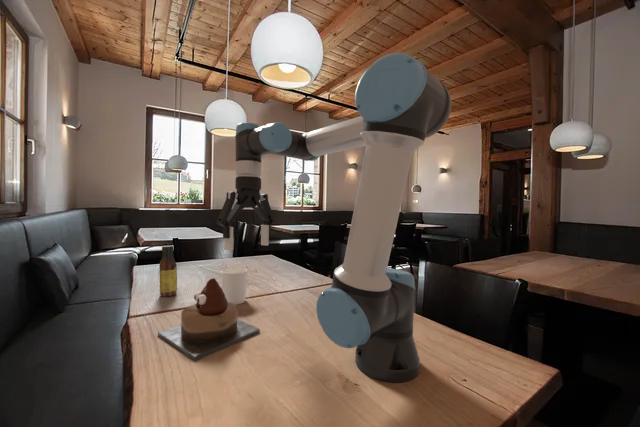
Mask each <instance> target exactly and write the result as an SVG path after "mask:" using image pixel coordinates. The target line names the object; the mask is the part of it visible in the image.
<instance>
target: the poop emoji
mask: <svg viewBox="0 0 640 427" xmlns="http://www.w3.org/2000/svg"><path fill="white" fill-rule="evenodd" d="M193 298H194V301H195V302H196V303H195V304H196V308H197V309H198V310H199V311H200V312H201V313H202V314H205V315H215V314H220V313H222V312H224V311H225V310H226V309H227V307H228V302H227V299H226V298H225V294H224V292H223V290H222V286H220V284H219V282H218V281H217V280H216V278H213V277H212V278H210V279H209V280H208V281H207V282H206V284H205V286H204V287H203V289H201V291H197V292H196V293H195V294H194V296H193Z"/></svg>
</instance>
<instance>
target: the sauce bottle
mask: <svg viewBox="0 0 640 427" xmlns="http://www.w3.org/2000/svg"><path fill="white" fill-rule="evenodd" d="M161 251H162V255H161V256H162V258H161V260H160V261H159V272H158V274H159V276H158V277H159V295H160V296H161V297H163V298H164V297H165V298H166V297H167V298H168V297H172V296H175V295H176V294H177V292H178V280H177V279H178V272H177V268H178V267H177V266H178V265H177V262H176V261H175V258H174V245H163V246H161Z"/></svg>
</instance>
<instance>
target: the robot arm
mask: <svg viewBox="0 0 640 427" xmlns="http://www.w3.org/2000/svg"><path fill="white" fill-rule="evenodd" d="M354 105H355V108H356V110H357V111H358V114H359V115H360V116H357V117H353V118H351V119H350V118H349V119H347V120H344V121H340V122H337V123H334V124H331V125H327V126H324V127H321V128H317V129H314V130H311V131H308V132H307V131H306V132H304V133H303V132H302V133H301V132H296V131H294V130H291V129H290V128H289V127H288V126H287V125H286V124H285V123H283V122H280V121H279V122H271V123H267V124H265V125H262V126H261V125H259V124H257V123H254V122H240V123H238V124H237V125H236V126H235V127H236V128H235V137H234V139H235V175H236V177H235V180H234V181H235V184H234V185H235V188H234V189H236V192H235V191H227V192H226V198H225V201H224V204H223V206H222V208H221V210H220V212H219V215H218V217H217V220H216V224H217V225H218V226H220V227H222V238H223V239H224V250H225V251H234V226H232V225H233V223H234V222H235V220H236V219H237V217H238V216H239V215H240V213H241V211H243V209H247V208H248V209H253V210H254V212H255V213H256V214H257V217H258V218H259V220H260V221H261V223H262V224H260V245H261V246H269V242H270V240H269V238H270V236H269V235H270V233H271V226H272V225H273V223H275V222H276V219H275V216H274V214H273V210H272V208H271V205H270V202H269V195H268V194H267V193H260V192H261V190H262V178H261V176H262V155H269V154H270V155H271V154H272V155H277V156H282V157H287V158H288V157H289V158H294V159H298V160H302V161H305V162H306V161H307V162H309V161H312V162H314V161H316V160H318V159H319V158H320V157H322V156H325V155H330V154H334V153H338V152H343V151H344V152H345V151H349V150H353V149H358V148H363V147H365V151H364V156H363V161H362V166H361V171H360V176H359V183H358V187H357V190H356V191H357V192H356V198H355V202H354V207H353V208H354V209H353V213H352V217H351V223H350V228H349V232H348V238H347V244H346V248H345V253H344V254H345V255H344V259H343V263H342V264H340V265H339V266H338V267H336V268H335V269H334V271H333V276H332V280H331V281H332V282H331V285H330V286H331V287H327V288H326V289H324V291H323V292H321V293H320V294H319V296H318V298H317V301H316V316H317V320H318V323H319V325H320V327H321V329H322V331H323V333H324V334H325V335H326V337H327V338H328V339H329V340H330V341H331V342H332V343H333V344H335V345H336V346H338V347H341V348H344V349H353V348H355V358H354V359H355V361H354V362H355V365H356V366H357V368H358V369H359V370H360V371H361V372H362V373H364V374H365V375H367V376H369V377H371V378H373V379H375V380H379V381H384V382H389V383H403V382H408V381H411V380H413V379H415V378H417V376H418V375H419V373H420V369H421V368H420V366H421V364H420V356H419V352H418V349H417V345H416V343H415V339H414V317H415V316H414V314H415V294H416V293H415V291H416V286H415V276H414V275H413V274H412V273H410V272H408V271H406V270H402V269H396V268H391V267H390V268H389V267H388V265H389V261H390V256H391V252H392V247H393V243H394V238H395V234H396V230H397V225H398V222H399V221H398V220H399V216H400V213H401V208H402V202H403V198H404V193H405V189H406V185H407V180H408V176H409V171H410V167H411V163H412V158H413V153H414V152H415V151H416V150H417V149H419V148H420V147H422V146H423V145H424V143H425V140H426V139H427V138H431V137H432V136H433V135H436V134H437V133H438V132H440V131H441V130H442V129H443V127H444V126H445V125H446V124H447V122H448V121H449V118H450V115H451V113H452V106H453V105H452V98H451V94H450V92H449V89H448V88H447V87H446V85H444V83H442V82H441V81H440V80H438V78H436V77H435V76H434V75H433V74H432V73H431V72H430V71H429V70H428V69H427V68H426V67H425V65H424V63H423V62H421V61H420V60H418V59H416V58H414V57H412V56H411V55H409V54H408V53H403V52H391V53H389V54H385V55H384V56H382V57H380V58H378V59H376V60H375V61H374V62H372V65H371V66H370V67H368V68H367V69H365V71H364V72H363V74H362V75H361V77H360V79H359V81H358V83H357V86H356V89H355V93H354ZM235 201H236V202H235Z"/></svg>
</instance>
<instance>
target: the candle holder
mask: <svg viewBox="0 0 640 427" xmlns="http://www.w3.org/2000/svg"><path fill="white" fill-rule="evenodd" d="M248 272H249V271H248V269H247V268H244V267H229V268H224V269H222V270H221V271H220V274H221V288H222V290H223V292H224V294H225V298H226V299H227V302H230V303H233V304H235V305H236V306H238V305H241V304H243V303H245V301H246V296H247V284H248V283H247V282H248Z"/></svg>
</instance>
